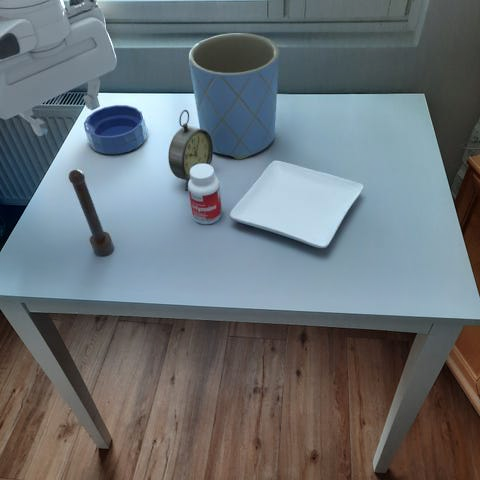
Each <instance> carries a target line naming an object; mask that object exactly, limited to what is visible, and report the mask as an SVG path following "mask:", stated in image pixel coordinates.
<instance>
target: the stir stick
mask: <svg viewBox="0 0 480 480" xmlns="http://www.w3.org/2000/svg"><path fill="white" fill-rule="evenodd" d="M68 180H69V182H70V183H71V185H72V187H73V190H74V192H75V195H76V197H77V200H78V202H79V205H80V207H81V210H82V213H83V215H84V217H85V220H86V223H87V225H88V227H89V230H90V232H91V235H90V238H89V243H90V245H91V248H92V250H93V254H94V255H96V256H98V257H107V256H109V255H111V254H112V253H113V252H114V250H115V245H114V243H113V240H112V236H111V234H110V233H109V232H108V231H104V229H103V226H102V223H101V220H100V218H99V215H98V212H97V210H96V207H95V204H94V201H93V199H92V198H93V197H92V196H91V193H90V191H89V188H88V184H87V182H86V176H85V174H84V172H83V171H82V170H80V169H73V170H71V171H70V172H69V174H68Z"/></svg>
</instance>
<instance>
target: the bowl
mask: <svg viewBox="0 0 480 480" xmlns="http://www.w3.org/2000/svg"><path fill="white" fill-rule="evenodd" d="M83 128H84V131H85V135H86V137H87V138H86V139H87V140H88V144H89V146H90V147H91V148H92V149H93V150H94V151H95V152H98V153H101V154H103V155H119V154H125V153H128V152H131V151H133V150H134V149H137V148H139V147H140V146H141V145H143V144H144V143H145V142H146V140H147V137H148V129H147V126H146V121H145V117H144V113H143V112H142V111H141V110H140V109H138V108H137V107H135V106H131V105H129V104H128V105H127V104H115V105H109V106H104V107H102V108H100V109H96V110H94V111H93V112H92V113H91V114H89V115H88V116H87V117H86V118H85V121H84V122H83Z"/></svg>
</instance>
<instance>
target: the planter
mask: <svg viewBox="0 0 480 480" xmlns="http://www.w3.org/2000/svg"><path fill="white" fill-rule="evenodd" d="M279 60H280V50H279V47H278V45H277V44H276V43H275V42H274V41H272V40H271V39H269V38H267V37H265V36H261V35H259V34H252V33H245V32H243V33H242V32H241V33H240V32H238V33H237V32H236V33H235V32H234V33H224V34H218V35H214V36H211V37H209V38H206V39H204V40H201V41H199V42H198V43H196V44H194V46H193V47H192V48H191V49H190V51H189V53H188V62H189V69H190V75H191V82H192V88H193V96H194V101H195V107H196V114H197V119H198V125H199V129H204V130H206V131H207V132H208V133H209V135H210V137H211V139H212V144H213V153H216V154H220V155H224V156H228V157H229V156H230V157H233V158H234V159H236V160H242V159H246V158H248V157H251V156H253V155H255V154H257V153H259V152H262V151H263V150H264V149H266V148H268V147H269V145H271V144H272V143H273V141H274V139H275V134H276V133H275V132H276V119H277V118H276V115H277V101H278V100H277V99H278V85H279V84H278V83H279V65H280V64H279Z"/></svg>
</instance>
